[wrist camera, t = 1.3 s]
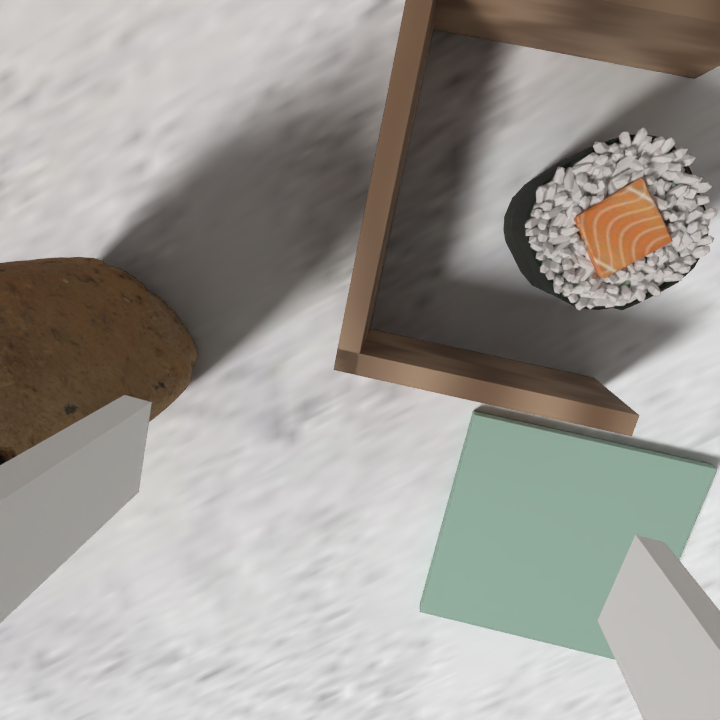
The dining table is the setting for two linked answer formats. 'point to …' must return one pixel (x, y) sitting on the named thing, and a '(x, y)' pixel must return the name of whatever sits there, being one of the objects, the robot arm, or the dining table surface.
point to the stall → (421, 15)
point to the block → (81, 347)
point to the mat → (552, 528)
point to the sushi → (611, 223)
